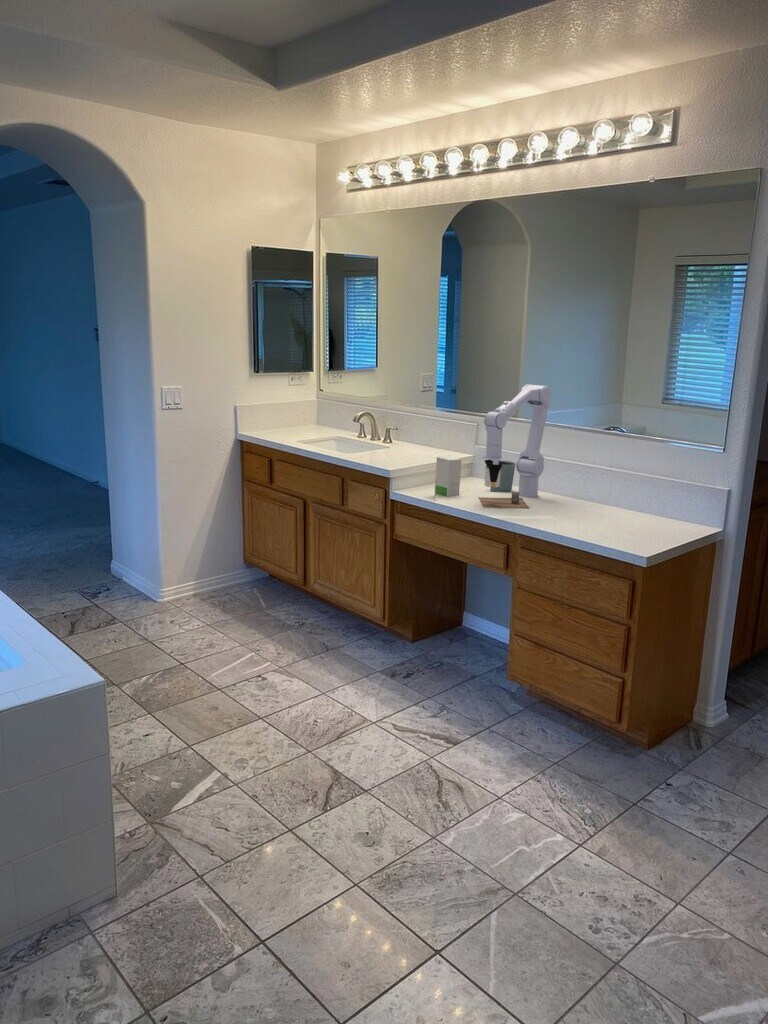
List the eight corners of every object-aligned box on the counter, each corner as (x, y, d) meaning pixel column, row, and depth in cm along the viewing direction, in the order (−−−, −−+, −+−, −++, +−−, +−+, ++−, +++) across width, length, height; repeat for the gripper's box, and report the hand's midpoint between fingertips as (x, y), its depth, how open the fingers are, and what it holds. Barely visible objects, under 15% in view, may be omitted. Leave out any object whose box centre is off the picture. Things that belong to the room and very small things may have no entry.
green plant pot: (485, 489, 332) (486, 460, 329) (507, 488, 335) (508, 459, 332) (495, 494, 323) (496, 465, 320) (518, 493, 326) (519, 464, 323)
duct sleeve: (483, 484, 305) (484, 465, 303) (498, 484, 305) (499, 466, 303) (485, 487, 299) (486, 468, 298) (500, 487, 299) (501, 468, 298)
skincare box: (434, 495, 319) (435, 456, 316) (446, 493, 323) (447, 455, 320) (448, 499, 313) (449, 459, 309) (460, 497, 317) (462, 458, 313)
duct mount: (478, 499, 312) (478, 487, 311) (521, 500, 312) (522, 487, 311) (483, 510, 295) (484, 497, 294) (529, 511, 295) (530, 497, 294)
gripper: (481, 441, 305) (479, 476, 308) (485, 447, 291) (484, 483, 294) (499, 441, 305) (498, 476, 308) (505, 447, 291) (503, 484, 294)
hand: (492, 480), depth 301 cm, fingers closed on duct sleeve, 6 cm apart
